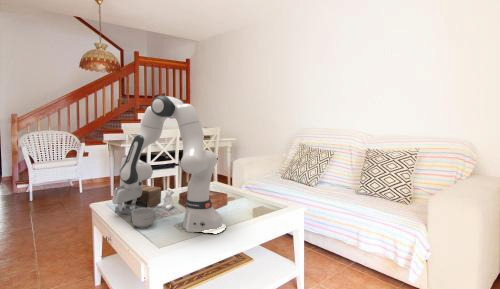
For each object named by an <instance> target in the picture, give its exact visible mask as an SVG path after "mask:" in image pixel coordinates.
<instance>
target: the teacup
mask: <svg viewBox="0 0 500 289" xmlns="http://www.w3.org/2000/svg"><path fill="white" fill-rule="evenodd" d="M155 212H156V209H154V207H152V208H150V207H147V206H146V207H140V208H138V209H135V210H133V211H132V212H131V213H132V215H131V223H132V225H134V226H135V227H136V228H138V229H143V228H148V227H150V226H151V225H152V224H153V223H154V221H155Z"/></svg>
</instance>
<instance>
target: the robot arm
mask: <svg viewBox="0 0 500 289" xmlns="http://www.w3.org/2000/svg"><path fill="white" fill-rule="evenodd" d="M197 113H198V112H197V111H196V109H195V107H194V105H192V104H191V103H186V102H185V101H184V100H182V99H180V98H176V97H175V96H170V95H169V96H167V95H158V96H156V97H154V98H152V100H151V103H150V106H147V108H146V109H145V111H144V114H143V116H142V119H141V124H140V128H139V130H138V133H137V134H136V136H134V138H133V140H132V141H131V144H130V146H129V150H128V152H127V155H126V156H123V157H122V159H121V162H120V170H119V178H120V179H119V186H117V187H115V189H114V190H113V194H112V199H111V200H112V202H111V203H112V204H114V205H117V206H119V210H120V211H122V210H124V207H122V205H123V204H124V202H127V201H130V200H133V201H132V203H130V206H136V202H137V198H139V197H141V195H142V186H141V185H144V184H143V181H147V180H149V179H151V178H152V176H153V174H154V171H153V167H152V165H151V164H149V163H147V162H145V161H143V160H141V159H140V158H141V155H142V153H143V151H144V150H145V149H146V148H147V147H148V146H150V145H152V144H154V143H156V142H157V141H159V140H160V138H161V136H162V132H163V127H164V123H165V121H166V120H167V119H173V120H174V119H175V120H176V121H177V126H178V129H179V133H180V137H181V141H182V151H183V152H182V157H181V160H180V166H181V170H182V171H183V172H185V173H187V174H191V177H190V179H189V181H188V182H187V191H186V192H187V193H186V199H185V214H184V219H183V222H182V228H183V229H184V230H185V232H188V233H194V232H202V231H204V230H209V229H217V228H219V227H221V226H222V223H223V216H222V214H221V213H219V212H218V210H216V209H215V208H214V207H213V206H212V205H213V203H214V201H213V200H212V201H211V200H210V190H211V188H210V186H211V182H212V176H213V173H214V169H215V166H216V165H217V163H218V157H217V155H216V153H214V151H211V150H208V149H204V144H203V143H204V139H205V134H204V131H203V128H202V124H201V121H200V118H199V116H198V114H197Z"/></svg>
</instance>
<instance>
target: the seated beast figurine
mask: <svg viewBox="0 0 500 289" xmlns="http://www.w3.org/2000/svg"><path fill="white" fill-rule="evenodd" d="M174 193H175V191H174V190H173V189H172V188H169V187H168V188H167V189H166V191H165V196H164V198H163V202H161V203H160V204H158V205H157V206H156V207H157V209H165V211H166V212H167V211H169V210H171V209H172V208H174V206H175V202H174V200H173V197H172V195H173V194H174Z"/></svg>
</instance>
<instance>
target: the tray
mask: <svg viewBox="0 0 500 289" xmlns="http://www.w3.org/2000/svg"><path fill="white" fill-rule="evenodd" d="M122 207H124V210H122V211H120V210H119V206H118V205H117V206H115V207H114V213H117V214H124V215H129V216H132V213H131V212H132V211H133V210H135V209H138V208H141V207H140V206H136V205H135V206H131V204H130V205H129V204H124V203H123V205H122Z"/></svg>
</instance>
